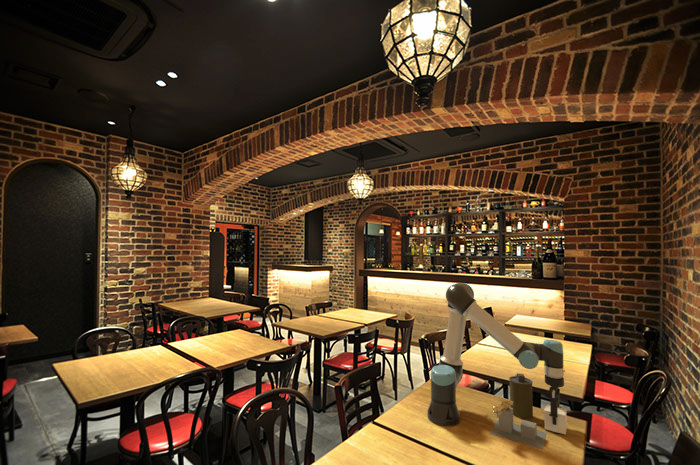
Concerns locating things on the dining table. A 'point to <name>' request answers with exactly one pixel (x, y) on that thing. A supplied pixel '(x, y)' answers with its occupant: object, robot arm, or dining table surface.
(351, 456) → the dining table surface
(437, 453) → the dining table surface
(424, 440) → the dining table surface
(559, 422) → the cover
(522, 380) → the canister
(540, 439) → the latch base
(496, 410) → the latch bar
